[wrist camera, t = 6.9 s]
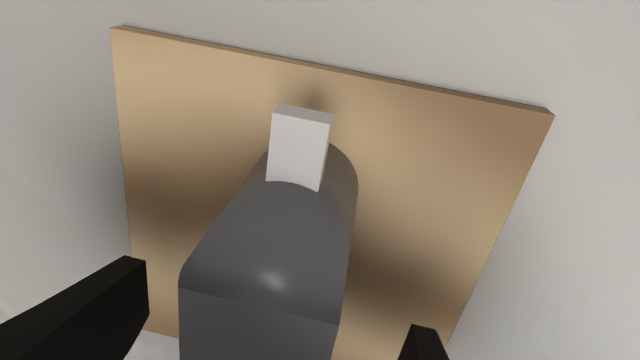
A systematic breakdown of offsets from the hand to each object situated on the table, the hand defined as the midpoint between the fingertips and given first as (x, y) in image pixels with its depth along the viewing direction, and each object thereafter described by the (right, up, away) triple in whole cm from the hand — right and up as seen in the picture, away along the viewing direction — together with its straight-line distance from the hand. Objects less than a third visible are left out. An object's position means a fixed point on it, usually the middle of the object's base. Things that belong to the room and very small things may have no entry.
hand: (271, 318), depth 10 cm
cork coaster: (+1, +2, +3) cm, 4 cm away
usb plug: (+1, +2, +2) cm, 3 cm away
